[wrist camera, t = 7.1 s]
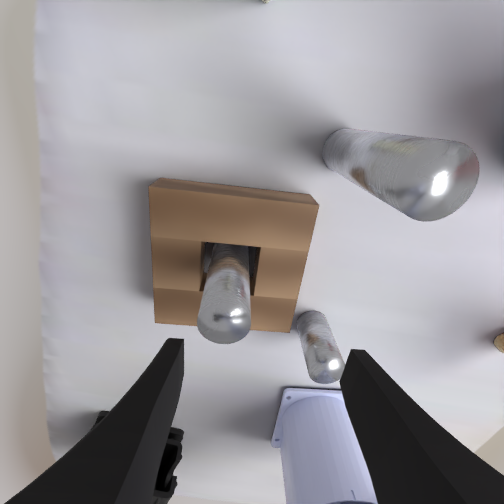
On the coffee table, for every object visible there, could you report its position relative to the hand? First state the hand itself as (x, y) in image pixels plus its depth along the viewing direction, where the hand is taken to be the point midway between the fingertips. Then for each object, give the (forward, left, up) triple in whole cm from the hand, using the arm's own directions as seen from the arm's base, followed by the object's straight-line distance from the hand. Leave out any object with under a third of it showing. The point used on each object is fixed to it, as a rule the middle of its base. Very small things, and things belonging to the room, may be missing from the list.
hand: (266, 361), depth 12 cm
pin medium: (0, +2, -10) cm, 10 cm away
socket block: (0, +2, -10) cm, 10 cm away
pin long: (+8, -4, -10) cm, 14 cm away
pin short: (-6, -5, -10) cm, 13 cm away
